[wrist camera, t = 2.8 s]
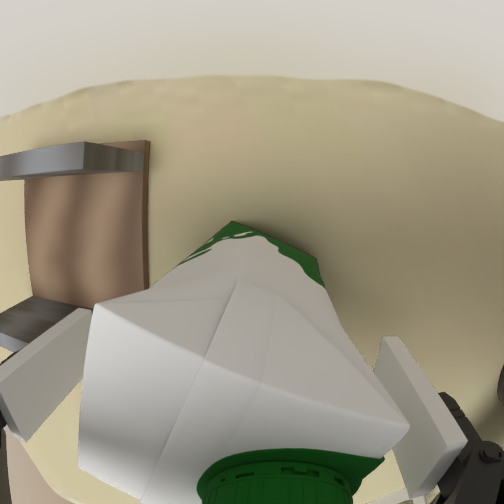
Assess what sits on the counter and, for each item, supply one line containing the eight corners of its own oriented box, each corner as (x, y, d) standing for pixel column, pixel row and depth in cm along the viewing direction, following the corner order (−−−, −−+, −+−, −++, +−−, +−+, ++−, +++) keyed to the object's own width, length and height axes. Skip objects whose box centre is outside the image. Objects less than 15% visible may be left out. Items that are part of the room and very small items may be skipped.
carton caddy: (150, 141, 22) (86, 123, 13) (152, 338, 26) (106, 395, 17) (32, 154, 23) (-35, 153, 14) (42, 314, 27) (-12, 348, 18)
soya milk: (283, 344, 25) (278, 585, 5) (184, 302, 25) (36, 498, 5) (332, 252, 23) (478, 468, 3) (223, 203, 23) (-2, 291, 3)
